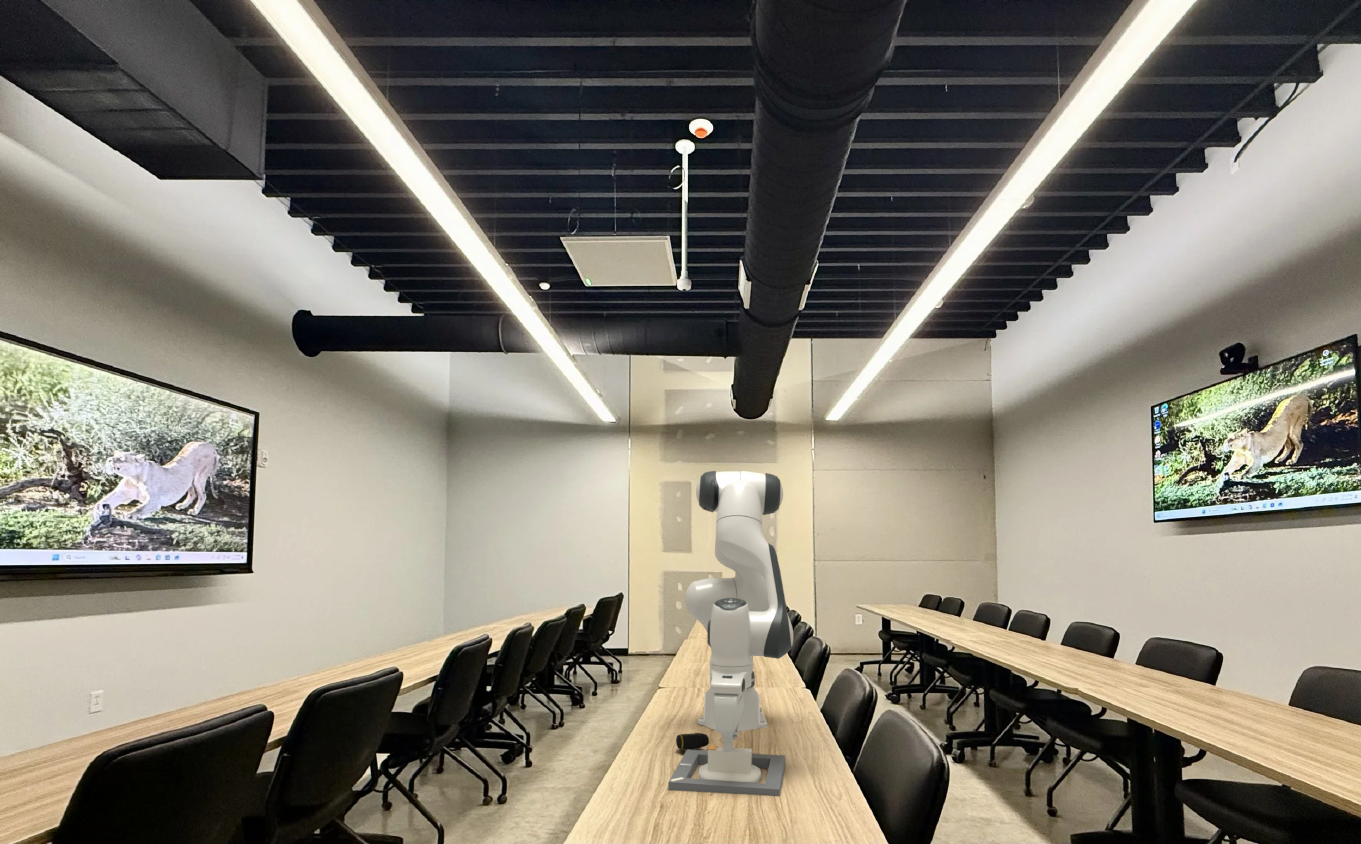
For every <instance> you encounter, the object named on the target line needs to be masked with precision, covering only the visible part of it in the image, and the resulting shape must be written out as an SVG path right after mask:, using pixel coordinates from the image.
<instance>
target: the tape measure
mask: <svg viewBox="0 0 1361 844" xmlns="http://www.w3.org/2000/svg"><path fill="white" fill-rule="evenodd" d="M709 742H710V737H709V735H708V734H705V733H702V732H701V733H700V732H695V733H694V732H693V733H692V732H691V733H681V734H677V735H676V738H675V744H676V747H677V749H679V750H683V751H684V752H686V751H687V750H700V749H701V748H705V747H706V746H708V745H709Z"/></svg>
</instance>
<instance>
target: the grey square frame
mask: <svg viewBox="0 0 1361 844" xmlns="http://www.w3.org/2000/svg"><path fill="white" fill-rule="evenodd" d="M707 763H708V750H702V749H701V750H700V749H699V750H698V749H694V750H687V751H684V754H683V756H682V757H681V760H680V761H679V763H678V765H677V766H676V768H675V770H674V772H673V773H672V775H671V777H670V779H669V780H668V786H667V789H668V791H681V792H696V793H697V792H698V793H714V794H715V793H716V794H731V795H733V794H734V795H735V794H736V795H750V796H751V795H753V796H769V797H770V796H771V797H772V796H773V797H780V795H781V790H782V786H783V781H784V779H783V778H784V773H785V770H786V755H784V754H783V755H780V754H769V753H767V754H765V753H752V765H755V766H757V767H758V768H759V769H767V774H766V776H765V777H766V778H765V782H756V783H753V782H738V781H723V780H708V779H699V778H692V776H693V774H694V773H695V771H696V770H697V767H698V766H703V765H705V764H707Z"/></svg>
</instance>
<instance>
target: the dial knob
mask: <svg viewBox="0 0 1361 844" xmlns="http://www.w3.org/2000/svg"><path fill="white" fill-rule="evenodd" d="M707 751H708V763H707V764H705V765H700V767H699V769H698V779H708V780H723V781H738V782H753V783H759V782H760V781H761V779H762V772H761V768H758V767H757V766H755V765H752V754H753V749H752V748H743V747H733V749H732V752H724V750H723V746H718V744H710V745H709V746H708V748H707Z"/></svg>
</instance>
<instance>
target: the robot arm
mask: <svg viewBox="0 0 1361 844" xmlns="http://www.w3.org/2000/svg"><path fill="white" fill-rule="evenodd" d="M695 495H696V499H697V502H698V505H699V507H700V508H701V509H702V510H704V511H707V512H710V513H714V512H716V519H715V520H716V522H715V540H714V541H715V543H714V555H715V558H716V560H717V561H718V562H719V564H721V565H723V566H724V567H726V568H728V569H730V570H732V571H733V572H735V576H734V577H723V578H722V577H721V578H720V577H713V578H712V577H710V578H708V577H707V578H703V579H699V580H695V581H692V582H691V583H690V584H689V585H688V587H687V589H686V593H685V595H684V597H685V598H684V601H685V603H684V604H685V607H686V609H687V611H688V612H689V613H690V615H691V616H692V617H693V618H695V619H696V620H697V621H698V622H699V623H700V624H701V625H702V626H703V628H704V629H705V631H706V633H707V642H706V643H707V645H708V646H709V647H710V649H711V654H710V655H711V656H710V660H709V686H710V687H709V688H708V689H707V690H706V692H704V700H703V701H704V704H703V705H704V706H703V715H702V716H701V717H699V718H698V719H697V724H698V725H699V726H700V725H701V726H705V727H707V728H709V729H711V730H716V732H717V733H718V734H721V738H722V744H723V745H722V747H723V750H724V752H732V749H733V748H734V747H733V746H734V741H736V740H737V739H738V737H739V735H738V734H739V732H746V731H752V730H757V729H764V728H768V727H769V725H768V722H767V719H766V718H765V715H764V712H763V711H762V710H763V709H762V707H761V706H760V705H761V704H760V702H761V699H760V697H761V696H760V694H759V692H758V691H757V690H756V688H755V685H756V683H755V682H756V676H755V671H754V657H764V658H769V659H770V658H771V659H778V660H779V659H781V658H782V657H784V656H785V655H786V654H788V652H790V651H791V650H792V648H793V643H794V630H793V625H792V623H791V620H790V616H789V614H788V609H787V603H786V596H785V590H784V586H783V585H784V584H783V578H782V574H781V573H782V572H781V568H780V563H779V560H778V559H779V558H778V554H777V551H776V547H774V545H772V543H769V542H768V541H767V539H766V538H765V536H764V532H763V516H767V515H771V514H772V515H773V514H774V513H777V512H778V510H780V506H781V504H782V501H783V500H784V489H783V486H782V483H781V480H780V478H779V476H777V475H775V474H772V473H768V472H766V473H761V472H755V471H749V470H748V471H747V470H740V471H736V470H735V471H734V470H731V471H730V470H728V471H727V470H726V471H724V470H723V471H716V470H710V471H705V472H704V473H703V474H702V475H700V478H699V480H698V482H697V484H696V488H695Z"/></svg>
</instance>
